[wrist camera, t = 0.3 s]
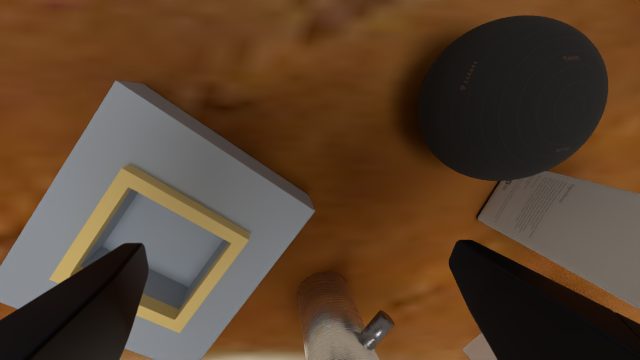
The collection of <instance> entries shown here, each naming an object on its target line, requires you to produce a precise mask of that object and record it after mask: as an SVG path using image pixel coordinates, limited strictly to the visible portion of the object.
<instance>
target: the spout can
mask: <svg viewBox="0 0 640 360" xmlns="http://www.w3.org/2000/svg"><path fill="white" fill-rule="evenodd" d="M297 300H298V307H299V314H300V321H301V328H302V335H303V341H304V348H305V355H306V360H379V359H378V356H377V354H376V351H375V349H374V348H375V347H376V346H377V344H378V343H379V342H380V341H381V340H382V339H383V337H384V336H385V335H386V334H387V333H388V332H389V331H390V329H391V328H392V327H393V326H394V322H393V320H392V319H391V318H390V317H389V316H388V315H387V314H386V313H385V312H384V311H381V310H380V311H379V312H378V313H377V314H376V315H375V317H374V318H373V319H372V320H371V321H370V323H369V324H368V325H367V326H366V327H365V325H364V323H363V321H362V318H361V316H360V314H359V311H358V309H357V307H356V304H355V302H354V300H353V297H352V295H351V292H350V290H349V288H348V285H347V283H346V281H345V280H344V279H343V278H342V277H341V276H340V275H338V274H336V273H333V272H320V273H316V274H314V275H312V276H310V277H308V278H307V279H306V280H305V281H304V282H303V283H302V284H301V286H300V288H299V290H298V294H297Z"/></svg>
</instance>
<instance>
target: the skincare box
mask: <svg viewBox="0 0 640 360" xmlns="http://www.w3.org/2000/svg"><path fill="white" fill-rule="evenodd" d="M478 220H479V221H481V222H482V223H484V224H486V225H488V226H490V227H491V228H493V229H495V230H497V231H499V232H500V233H502V234H504V235H506V236H508V237H509V238H511V239H513V240H515V241H517V242H519V243H520V244H522V245H524V246H526V247H528V248H530V249H531V250H533V251H535V252H537V253H539V254H540V255H542V256H544V257H546V258H548V259H550V260H551V261H553V262H555V263H557V264H558V265H560V266H562V267H564V268H566V269H567V270H569V271H571V272H573V273H574V274H576V275H578V276H580V277H582V278H583V279H585V280H587V281H589V282H591V283H592V284H594V285H596V286H598V287H600V288H602V289H603V290H605V291H607V292H609V293H611V294H612V295H614V296H616V297H618V298H620V299H621V300H623V301H625V302H627V303H629V304H630V305H632V306H634V307H636V308H638V309H639V310H640V194H639V193H635V192H631V191H627V190H623V189H619V188H615V187H611V186H607V185H603V184H598V183H594V182H590V181H586V180H582V179H578V178H574V177H570V176H566V175H562V174H558V173H554V172H549V171H544V172H542V173H539V174H536V175H533V176H530V177H526V178H522V179H516V180H508V181H500V183H499V184H498V186H497V187H496V189H495V191H494V192H493V194H492V195H491V197H490V199H489V200H488V202H487V203H486V205H485V206H484V208H483V210H482V211H481V213H480V215H479V216H478Z"/></svg>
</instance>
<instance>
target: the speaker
mask: <svg viewBox="0 0 640 360" xmlns="http://www.w3.org/2000/svg"><path fill="white" fill-rule="evenodd" d="M607 96H608V76H607V71H606V67H605V64H604V61H603V59H602V57H601V55H600V53H599V51H598V50H597V48H596V47H595V46H594V44H593V43H592V42H591V41H590V40H589V39H588V38H587V37H586V36H585V35H584V34H583V33H581V32H580V31H578V30H577V29H575V28H574V27H572V26H570V25H568V24H566V23H564V22H561V21H558V20H555V19H551V18H547V17H541V16H513V17H506V18H501V19H497V20H494V21H491V22H488V23H485V24H483V25H480V26H478V27H476V28H474V29H472V30H470V31H468V32H467V33H465V34H464V35H462V36H461V37H459V38H458V39H456V40H455V41H454V42H453V43H451V44H450V45H449V46H448V47H447V48H446V49H445V50H444V51H443V52H442V53H441V54H440V55H439V56H438V58H437V59H436V60H435V62H434V63H433V64H432V66H431V67H430V69H429V71H428V72H427V74H426V76H425V78H424V81H423V83H422V86H421V89H420V93H419V98H418V106H417V115H418V123H419V128H420V131H421V134H422V136H423V139H424V141H425V143H426V144H427V146H428V147H429V149H430V150H431V152H432V153H433V154H434V155H435V156H436V157H437V158H438V159H439V160H440V161H441V162H442V163H444V164H445V165H446V166H448V167H449V168H451V169H453V170H454V171H456V172H458V173H461V174H463V175H466V176H469V177H472V178H476V179H481V180H489V181H508V180H516V179H522V178H526V177H530V176H533V175H536V174H539V173H542V172H544V171H546V170H548V169H551V168H552V167H554V166H556V165H558V164H560V163H561V162H563V161H564V160H566V159H567V158H568V157H570V156H571V155H572V154H574V153H575V152H576V151H577V150H578V149H579V148H580V147H581V146H582V145H583V144H584V143H585V142H586V141H587V139H588V138H589V137H590V136H591V134H592V133H593V131H594V130H595V128H596V127H597V125H598V123H599V121H600V119H601V117H602V114H603V112H604V109H605V106H606V101H607Z"/></svg>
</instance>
